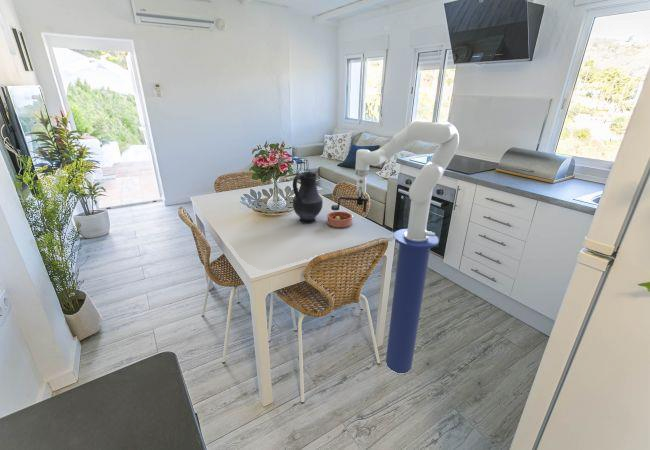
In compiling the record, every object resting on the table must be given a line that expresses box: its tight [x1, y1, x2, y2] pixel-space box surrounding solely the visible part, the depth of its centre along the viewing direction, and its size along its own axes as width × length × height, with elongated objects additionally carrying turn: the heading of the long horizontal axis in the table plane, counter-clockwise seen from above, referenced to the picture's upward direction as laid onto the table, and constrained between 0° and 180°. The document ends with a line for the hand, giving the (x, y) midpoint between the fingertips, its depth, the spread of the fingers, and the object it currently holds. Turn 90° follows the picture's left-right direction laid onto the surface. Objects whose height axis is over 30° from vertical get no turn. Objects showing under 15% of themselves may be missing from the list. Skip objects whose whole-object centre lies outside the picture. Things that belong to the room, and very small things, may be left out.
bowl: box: [326, 211, 353, 229], centre depth 184 cm, size 15×15×5 cm
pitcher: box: [292, 171, 324, 224], centre depth 182 cm, size 17×21×30 cm
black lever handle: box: [330, 196, 369, 213], centre depth 180 cm, size 21×5×8 cm, turn 80°
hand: (359, 204), depth 179 cm, fingers closed on black lever handle, 1 cm apart
